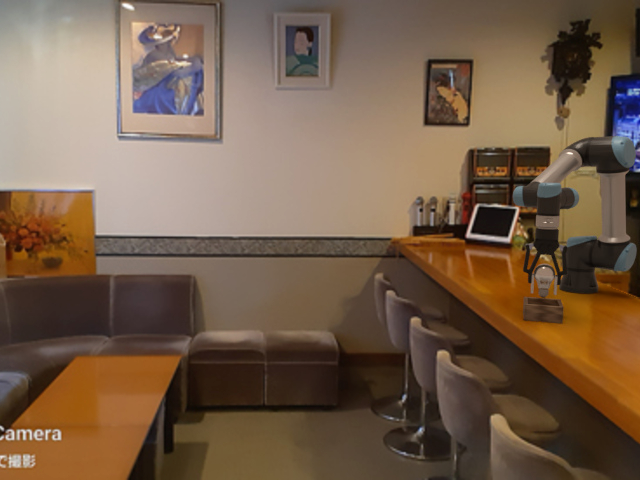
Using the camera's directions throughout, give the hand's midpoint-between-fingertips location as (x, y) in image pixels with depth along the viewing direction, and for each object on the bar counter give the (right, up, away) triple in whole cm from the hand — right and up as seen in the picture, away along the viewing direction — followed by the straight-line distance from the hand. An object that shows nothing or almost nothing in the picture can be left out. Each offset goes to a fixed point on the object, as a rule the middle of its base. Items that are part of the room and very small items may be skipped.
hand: (543, 293), depth 206 cm
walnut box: (0, -9, +1) cm, 9 cm away
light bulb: (0, -2, 0) cm, 2 cm away
